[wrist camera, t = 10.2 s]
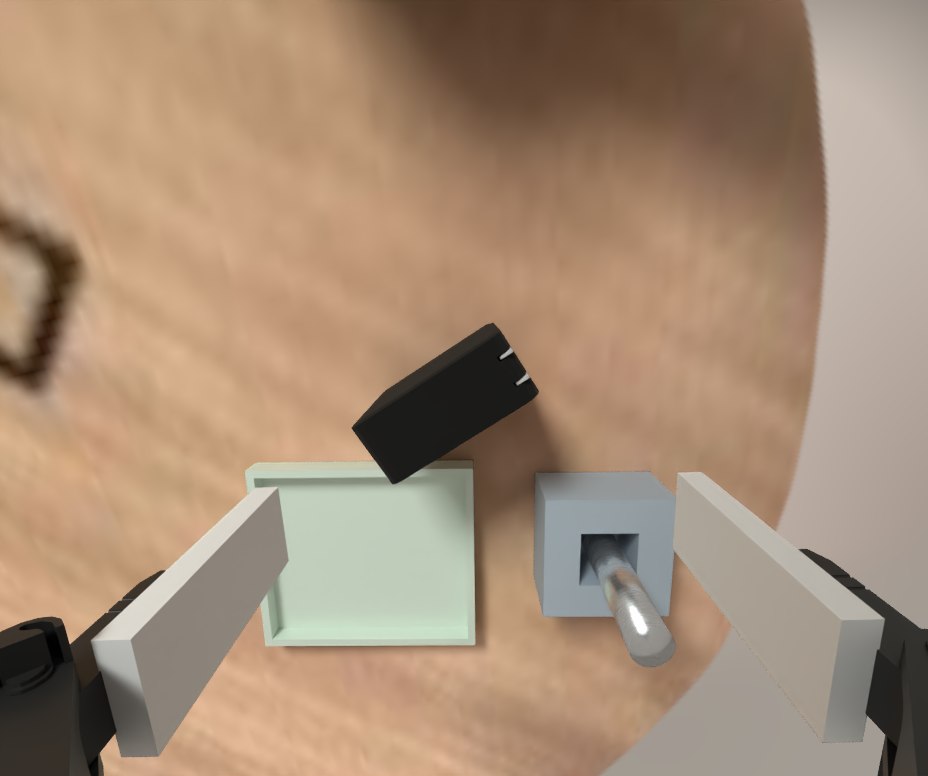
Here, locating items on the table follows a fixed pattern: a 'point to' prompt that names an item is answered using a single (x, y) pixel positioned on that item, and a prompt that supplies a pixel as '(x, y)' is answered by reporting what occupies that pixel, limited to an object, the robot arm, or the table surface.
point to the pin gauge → (629, 602)
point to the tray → (371, 555)
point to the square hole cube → (600, 512)
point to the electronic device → (445, 404)
